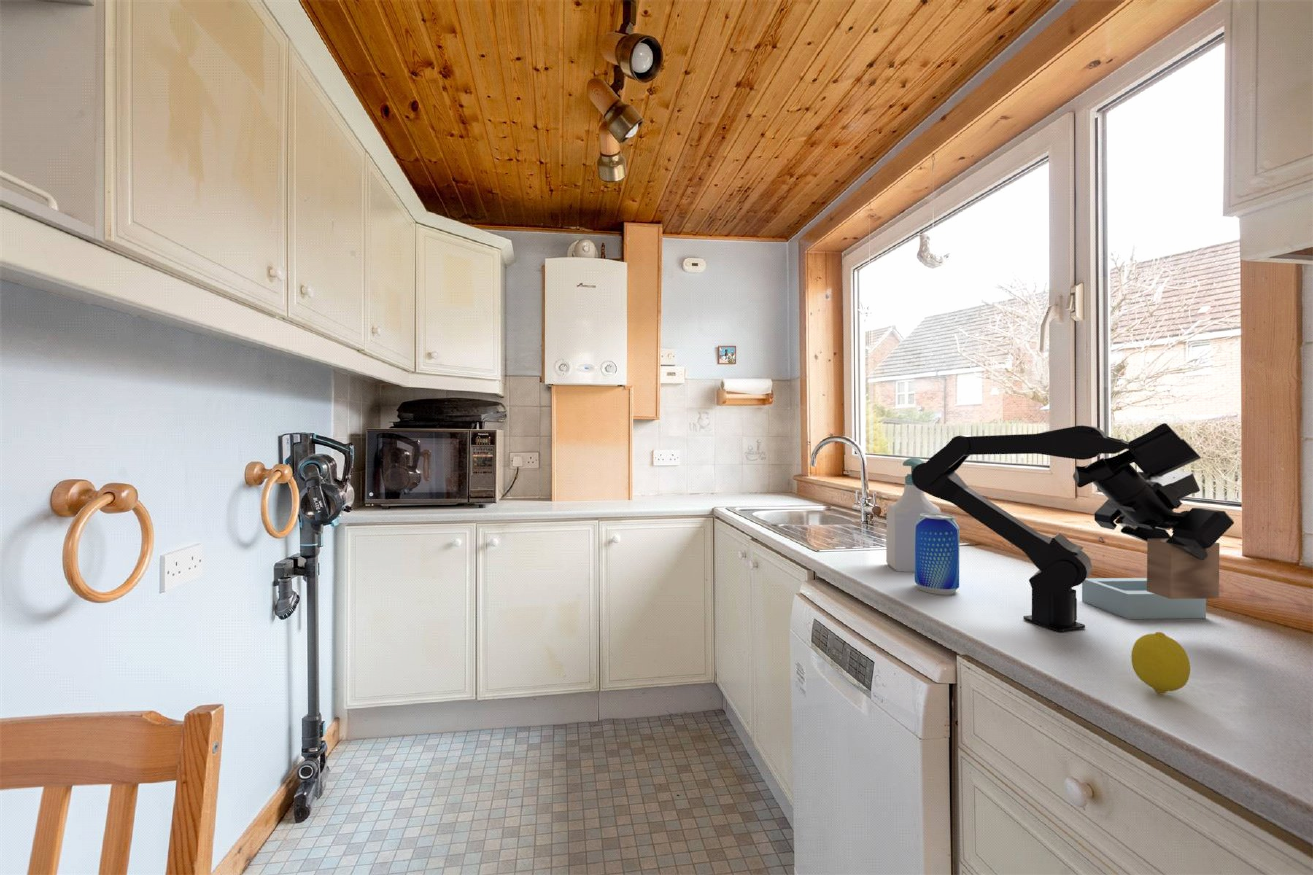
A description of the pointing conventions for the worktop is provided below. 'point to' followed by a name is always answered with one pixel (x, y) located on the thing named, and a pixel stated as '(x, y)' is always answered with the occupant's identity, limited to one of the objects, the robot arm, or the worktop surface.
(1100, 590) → the light blue tray
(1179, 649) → the lemon
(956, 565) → the beer can
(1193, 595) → the brown rectangular block
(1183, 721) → the worktop surface
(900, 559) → the soap bottle
